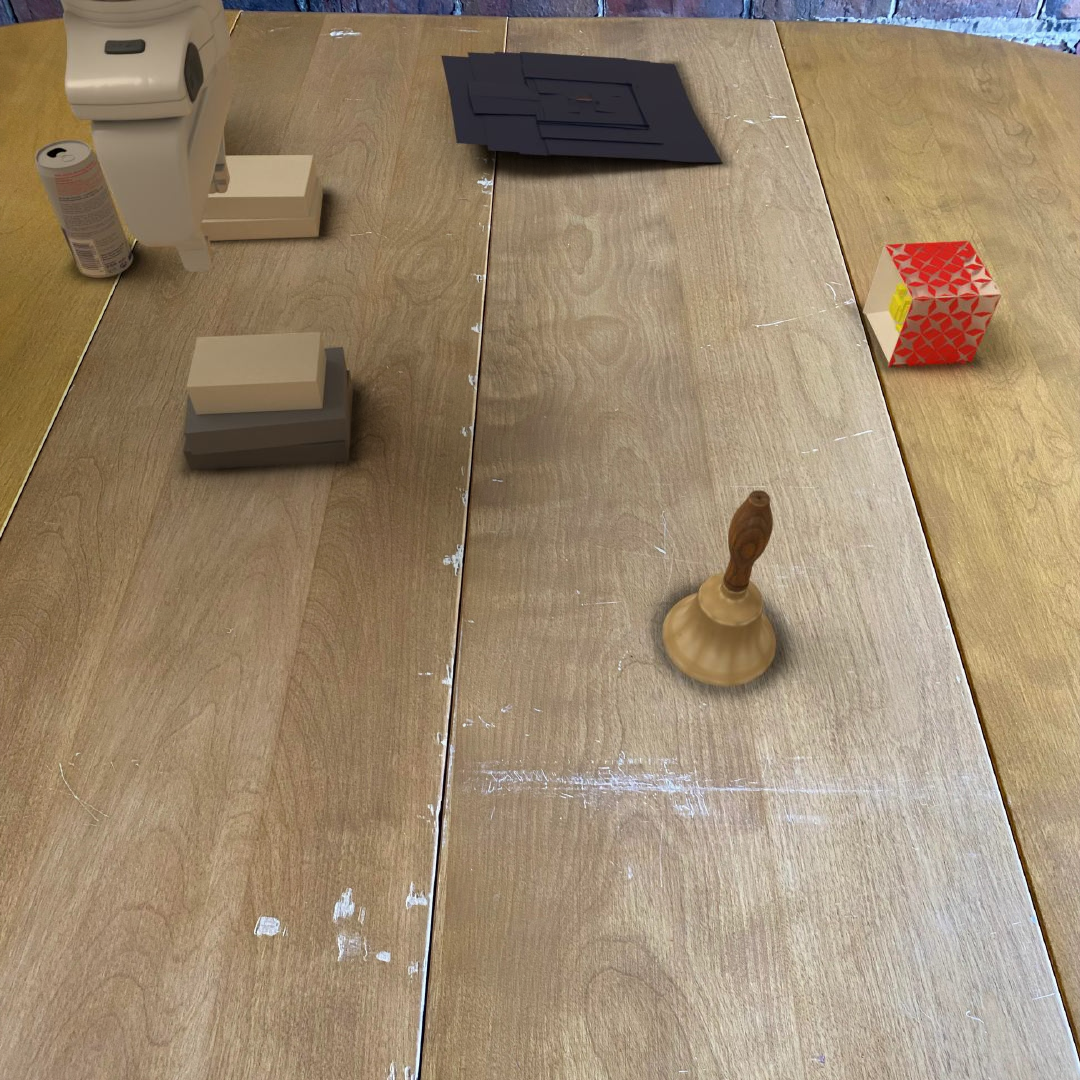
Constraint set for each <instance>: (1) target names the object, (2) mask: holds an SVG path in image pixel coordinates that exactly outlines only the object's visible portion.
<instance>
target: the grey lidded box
mask: <svg viewBox="0 0 1080 1080" xmlns="http://www.w3.org/2000/svg"><path fill="white" fill-rule="evenodd" d="M324 350H325V355H326V359H327V360H326V372H325V384H324V395H323V407H322V409H305V410H284V411H263V412H242V413H221V414H200V415H197V414H196V412H195V409H194V407H193V404H192V401H191V398H190V395H189V393H187V403H186V411H185V412H186V413H185V422H184V431H183V434H184V437H185V441H184V444H183V449H182V450H183V454H184V457H185V461H186V462H187V465H188V468H189V470H191V471H194V470H212V469H231V468H251V467H272V466H292V465H308V464H309V465H312V464H329V463H331V464H333V463H348V462H350V446H351V430H352V427H351V426H352V414H353V412H352V411H353V398H354V397H353V393H354V387H353V382H352V375H351V371H350V370H349V369H348V367H347V362H346V361H347V360H346V355H345V351H344V347H343V346H336V347H335V346H334V347H326V348H325V347H324Z"/></svg>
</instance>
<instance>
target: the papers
mask: <svg viewBox="0 0 1080 1080" xmlns="http://www.w3.org/2000/svg"><path fill="white" fill-rule="evenodd" d="M466 53H467V56H457V55H443V54H441V55H440V56H441V61H442V67H443V71H444V76H445V81H446V85H447V90H448V95H449V101H450V107H451V115H452V121H453V128H454V134H455V141H456V144H464V145H467V144H468V145H479V146H480V145H481V146H487V150H488V151H493V152H494V151H496V152H512V153H513V152H514V153H519V154H520V155H532V156H533V155H536V156H550V157H555V156H576V157H577V156H578V157H597V158H598V157H599V158H618V159H619V158H621V159H640V160H641V159H642V160H643V159H644V160H645V159H646V160H664V161H668V162H669V161H670V162H684V163H685V162H686V163H723V161H722V159H721V158H720V155H719V154H718V152H717V150H716V149H715V146H714V145H713V144H712V141H711V140H710V138H709V136H708V134H707V132H706V131H705V129H704V127H703V126H702V123H701V122H700V120H699V118H698V116H697V114H696V113H695V110H694V109H693V107H692V104H691V102H690V99H689V96H688V95H687V92H686V89H685V87H684V84H683V82H682V79H681V77H680V74H679V72H678V69H677V66H676V65H675V63H665V62H653V61H650V60H641V59H628V58H626V57H610V56H596V55H595V56H593V55H578V54H562V53H546V52H531V51H530V52H529V51H519V52H506V51H494V53H492V52H471V51H467V52H466Z"/></svg>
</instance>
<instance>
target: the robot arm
mask: <svg viewBox="0 0 1080 1080" xmlns="http://www.w3.org/2000/svg"><path fill="white" fill-rule="evenodd" d="M60 4H61V6H62V9H63V13H62V19H63V24H64V29H65V35H66V65H65V73H64V92H65V95H66V98H67V101H68V104H69V106H70V109H71V111H72V113H73V116H74V117H75V118H76V120H80V121H90V132H91V139H92V143H93V147H94V150H95V154H96V156H97V159H98V162H99V165H100V167H101V170H102V173H103V176H104V178H105V181H106V184H107V186H108V189H109V191H110V192H111V196H112V197H113V200H114V203H115V204H116V206H117V209H118V211H119V214H120V216H121V218H122V220H123V222H124V224H125V226H126V228H127V230H128V231H129V233H130V235H131V236H132V237H133V238H134V239H135V240H136V241H137V242H138V243H139V244H141V245H143V246H145V247H148V248H149V247H151V248H154V247H155V248H156V247H159V248H160V247H174V248H175V250H176V251H177V252H178V254H179V257H180V260H181V264H182V267H183V268H184V269H185V270H186V271H187V272H190V273H201V272H202V273H204V272H206V273H207V272H210V270H211V269H212V264H213V260H214V259H213V258H214V250H213V248H212V244H211V241H210V240H209V237H208V236H204V235H203V233H202V231H201V229H200V228H201V224H202V219H203V215H204V211H205V207H206V202H207V198H208V194H214V193H225V192H226V191H227V189H228V185H229V182H230V175H229V171H228V167H227V163H226V156H227V154H226V143H225V142H226V141H225V127H226V122H227V118H228V115H229V109H230V105H231V101H232V97H233V81H232V80H233V79H232V75H231V69H230V66H229V62H228V58H227V53H228V51H229V49H230V47H231V42H232V38H231V33H230V30H229V24H228V20H227V17H226V13H225V8H224V4H223V1H222V0H60Z"/></svg>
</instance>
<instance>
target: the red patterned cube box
mask: <svg viewBox="0 0 1080 1080" xmlns="http://www.w3.org/2000/svg"><path fill="white" fill-rule="evenodd" d="M1002 295H1003V294H1002V292H1001V290H1000V289H999V287H998V286H997V284H996V282H995V280H993V278H992V276H991V274H990V273H989V271H988V270H987V268H986V266H985V265H984V263H983V262H982V260H981V258H980V256H979V255H978V254H977V252H976V249H974V247H973V246H972V243H971V241H969V240H956V241H935V242H933V241H932V242H913V243H890V244H884V245H883V248H882V251H881V254H880V257H879V260H878V263H877V266H876V270H875V273H874V276H873V279H872V282H871V284H870V288H869V291H868V294H867V298H866V300H865V304H864V306H863V309H862V314H864V315H865V316H866V317H867V319H868V321H869V324H870V326H871V328H872V331H873V333H874V334H875V337H876V339H877V341H878V343H879V345H880V347H881V349H882V352H883V354H884V356H885V358H886V360H887V362H888V364H887V367H888V368H890V367H892V366H893V367H894V368H897V367H898V368H899V367H902V365H906V366H926V365H927V366H928V365H947V364H967V363H972V362H973V360H974V358H975V355H976V352H977V351H978V349H979V346H980V344H981V342H982V340H983V337H984V335H985V333H986V330H987V329H988V327H989V324H990V321H991V319H992V317H993V315H994V312H995V311H996V308H997V306H998V304H999V302H1000V299H1001V297H1002Z"/></svg>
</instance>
